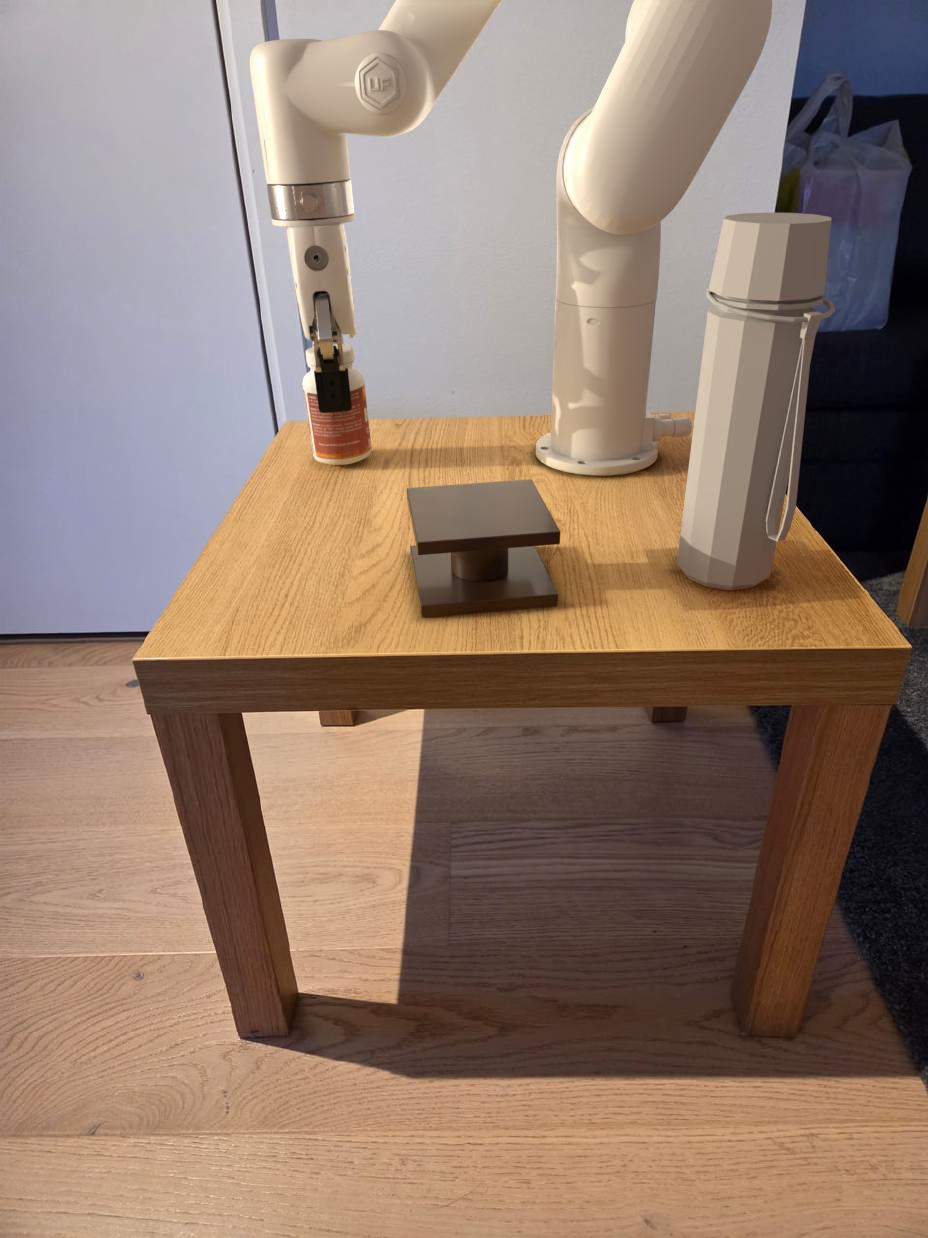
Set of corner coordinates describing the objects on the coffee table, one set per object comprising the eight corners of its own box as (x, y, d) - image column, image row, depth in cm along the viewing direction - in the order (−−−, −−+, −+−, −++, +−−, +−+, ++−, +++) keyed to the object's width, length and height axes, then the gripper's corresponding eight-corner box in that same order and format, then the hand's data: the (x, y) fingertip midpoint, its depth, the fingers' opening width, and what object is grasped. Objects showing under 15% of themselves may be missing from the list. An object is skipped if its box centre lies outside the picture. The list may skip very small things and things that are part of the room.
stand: (530, 546, 70) (531, 478, 67) (557, 606, 62) (560, 531, 58) (410, 556, 69) (406, 487, 66) (421, 618, 60) (417, 542, 57)
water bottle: (652, 564, 67) (689, 216, 54) (731, 544, 70) (784, 208, 57) (729, 617, 60) (793, 230, 47) (814, 592, 62) (896, 221, 50)
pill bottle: (382, 457, 88) (372, 348, 82) (329, 471, 85) (314, 360, 79) (355, 442, 92) (343, 338, 87) (303, 454, 89) (287, 348, 84)
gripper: (355, 211, 69) (376, 424, 79) (351, 195, 84) (369, 376, 93) (263, 216, 69) (295, 430, 78) (275, 199, 83) (301, 381, 93)
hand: (335, 399), depth 86 cm, fingers closed on pill bottle, 6 cm apart
